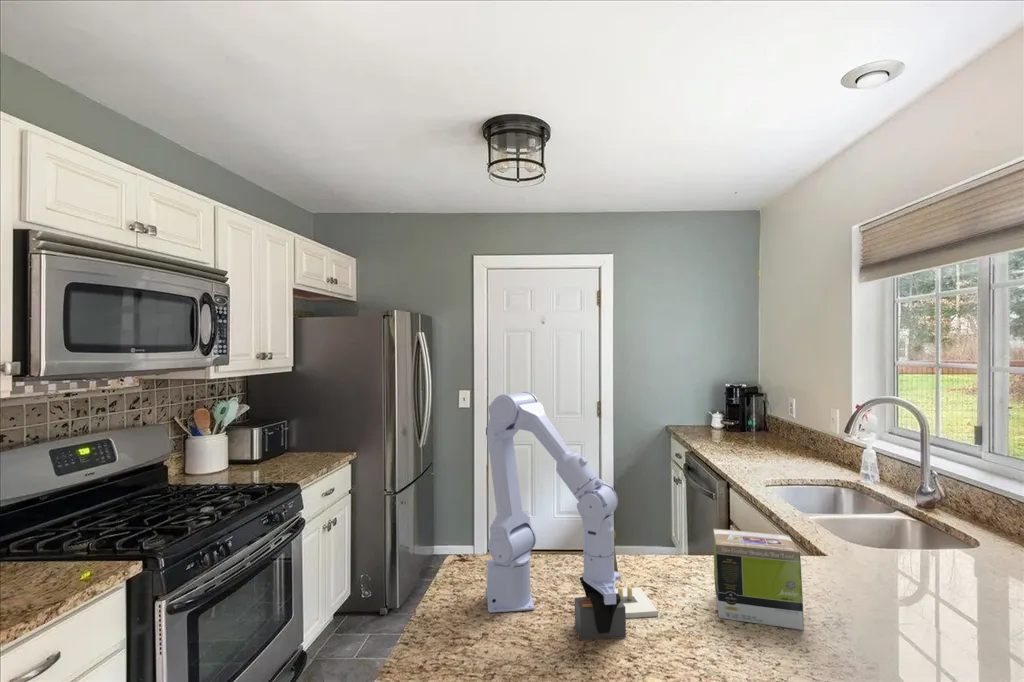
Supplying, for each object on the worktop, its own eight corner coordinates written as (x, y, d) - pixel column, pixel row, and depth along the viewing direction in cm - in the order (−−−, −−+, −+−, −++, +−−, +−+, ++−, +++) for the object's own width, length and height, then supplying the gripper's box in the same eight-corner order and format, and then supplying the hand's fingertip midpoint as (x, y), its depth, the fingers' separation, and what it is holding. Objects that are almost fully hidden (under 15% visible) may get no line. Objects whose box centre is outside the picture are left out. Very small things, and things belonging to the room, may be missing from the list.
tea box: (792, 606, 100) (791, 533, 101) (804, 632, 91) (802, 552, 91) (713, 595, 105) (712, 526, 106) (717, 619, 96) (715, 543, 96)
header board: (599, 620, 96) (598, 602, 96) (586, 595, 106) (586, 578, 106) (658, 616, 97) (657, 598, 97) (639, 591, 107) (639, 575, 107)
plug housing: (580, 640, 89) (580, 608, 89) (575, 626, 93) (574, 596, 94) (625, 637, 90) (625, 605, 90) (618, 623, 94) (617, 594, 94)
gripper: (632, 566, 85) (633, 645, 85) (607, 536, 100) (608, 603, 99) (593, 568, 85) (594, 648, 84) (574, 537, 99) (575, 605, 99)
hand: (599, 624), depth 92 cm, fingers closed on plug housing, 4 cm apart
